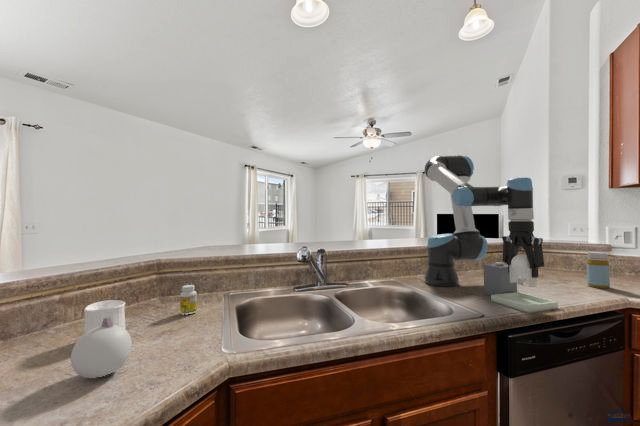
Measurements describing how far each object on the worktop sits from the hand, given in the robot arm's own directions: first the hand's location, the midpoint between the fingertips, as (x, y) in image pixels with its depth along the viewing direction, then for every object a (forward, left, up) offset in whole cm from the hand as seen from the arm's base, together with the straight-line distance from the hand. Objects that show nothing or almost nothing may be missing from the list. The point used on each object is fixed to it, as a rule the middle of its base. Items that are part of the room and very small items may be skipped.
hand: (522, 284), depth 102 cm
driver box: (-12, +3, -7) cm, 14 cm away
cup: (-14, -135, -8) cm, 136 cm away
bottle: (-8, +53, -7) cm, 54 cm away
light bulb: (0, 0, 0) cm, 0 cm away
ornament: (+7, -127, -8) cm, 127 cm away
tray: (0, 0, -7) cm, 7 cm away
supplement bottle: (-30, -116, -8) cm, 120 cm away
